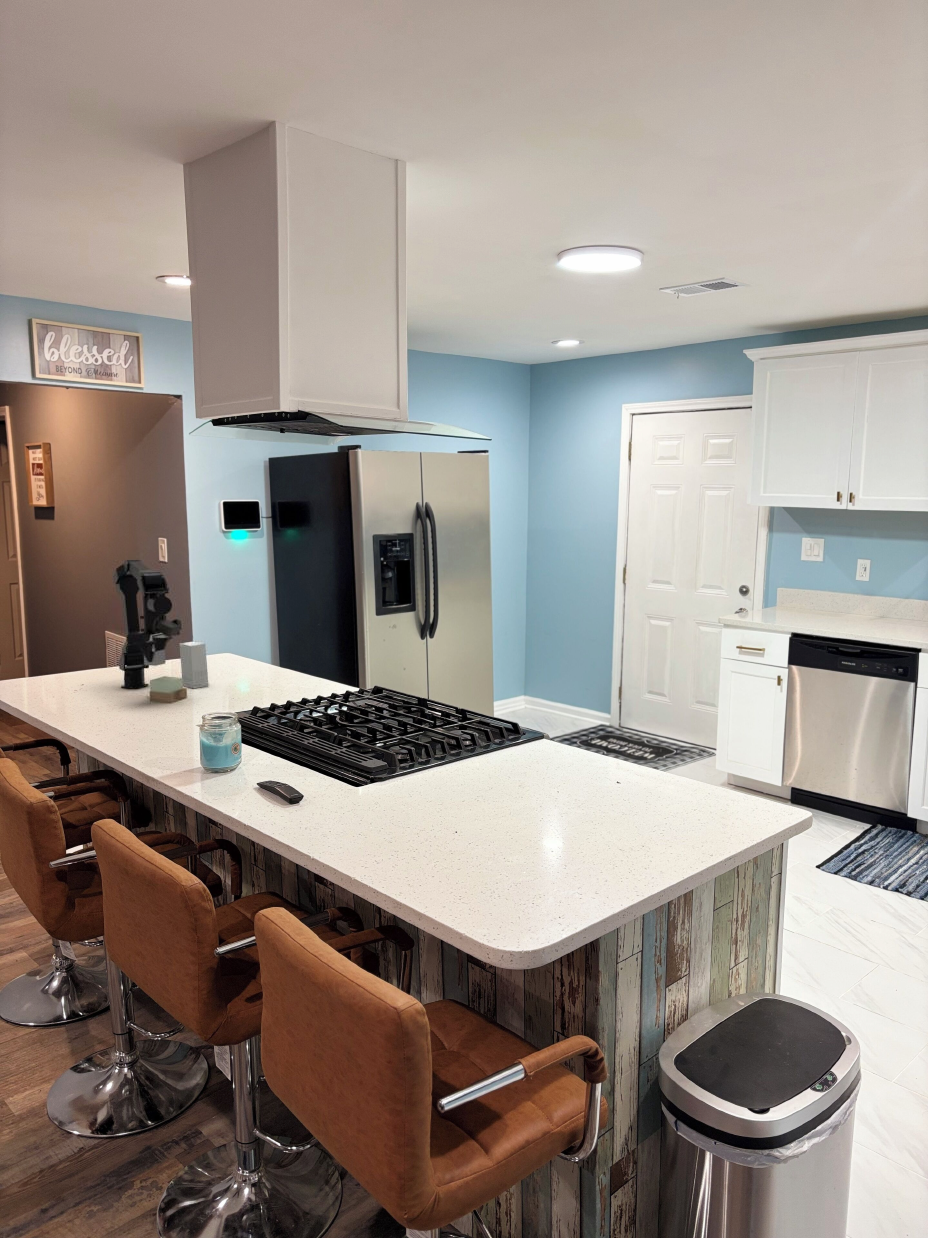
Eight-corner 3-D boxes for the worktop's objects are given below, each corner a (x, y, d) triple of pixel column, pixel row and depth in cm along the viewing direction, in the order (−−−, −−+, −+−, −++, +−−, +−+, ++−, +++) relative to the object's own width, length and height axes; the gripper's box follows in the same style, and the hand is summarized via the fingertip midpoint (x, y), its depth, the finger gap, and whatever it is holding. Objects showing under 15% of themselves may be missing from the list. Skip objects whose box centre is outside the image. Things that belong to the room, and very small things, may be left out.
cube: (153, 662, 287) (153, 648, 286) (165, 663, 285) (164, 649, 285) (144, 665, 282) (143, 650, 282) (156, 665, 281) (155, 651, 280)
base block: (165, 697, 290) (165, 686, 290) (187, 699, 288) (186, 688, 287) (149, 702, 283) (149, 691, 282) (171, 704, 280) (171, 693, 280)
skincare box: (208, 686, 304) (207, 643, 302) (192, 689, 300) (190, 645, 298) (197, 682, 310) (195, 640, 308) (180, 685, 306) (178, 642, 304)
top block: (164, 686, 289) (164, 676, 289) (182, 688, 287) (182, 677, 286) (150, 691, 283) (149, 680, 282) (168, 693, 280) (168, 682, 280)
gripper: (154, 616, 270) (156, 667, 272) (192, 609, 288) (194, 657, 290) (124, 614, 274) (126, 665, 276) (163, 608, 291) (165, 655, 293)
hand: (154, 661), depth 284 cm, fingers closed on cube, 4 cm apart
